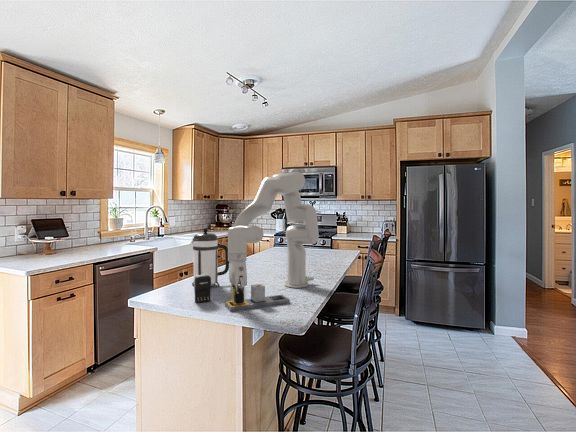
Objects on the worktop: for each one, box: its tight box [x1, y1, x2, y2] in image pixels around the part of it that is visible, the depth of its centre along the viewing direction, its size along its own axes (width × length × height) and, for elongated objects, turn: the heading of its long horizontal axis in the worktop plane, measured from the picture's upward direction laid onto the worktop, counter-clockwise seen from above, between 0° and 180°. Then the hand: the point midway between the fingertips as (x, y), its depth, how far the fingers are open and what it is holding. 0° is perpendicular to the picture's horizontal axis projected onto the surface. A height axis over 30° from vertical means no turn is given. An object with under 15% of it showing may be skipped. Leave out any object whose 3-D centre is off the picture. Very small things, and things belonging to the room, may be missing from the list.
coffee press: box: [189, 227, 230, 288], centre depth 166 cm, size 17×16×30 cm
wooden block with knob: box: [230, 286, 244, 306], centre depth 131 cm, size 4×4×8 cm
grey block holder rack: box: [224, 294, 291, 312], centre depth 135 cm, size 26×8×2 cm, turn 116°
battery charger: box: [193, 275, 212, 303], centre depth 139 cm, size 7×4×11 cm, turn 117°
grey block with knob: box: [250, 283, 266, 303], centre depth 135 cm, size 4×4×8 cm
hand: (237, 300), depth 131 cm, fingers open, 6 cm apart
